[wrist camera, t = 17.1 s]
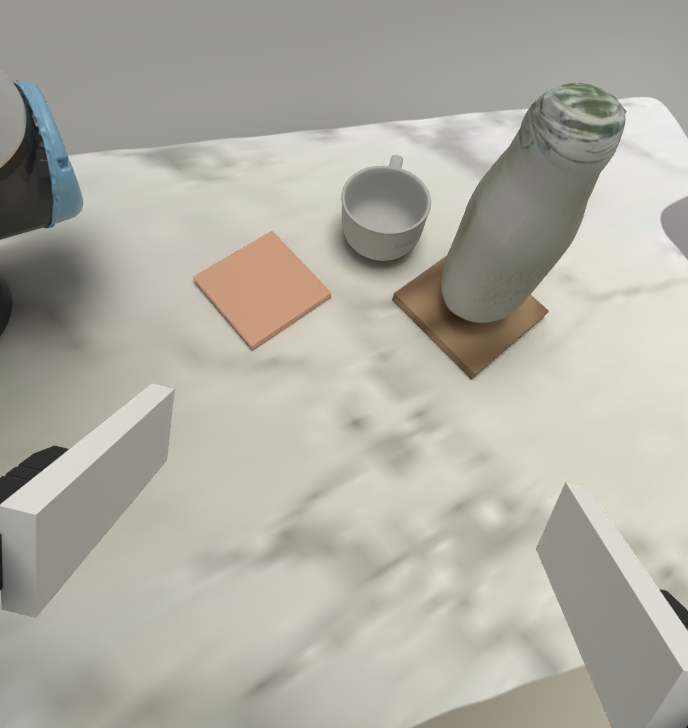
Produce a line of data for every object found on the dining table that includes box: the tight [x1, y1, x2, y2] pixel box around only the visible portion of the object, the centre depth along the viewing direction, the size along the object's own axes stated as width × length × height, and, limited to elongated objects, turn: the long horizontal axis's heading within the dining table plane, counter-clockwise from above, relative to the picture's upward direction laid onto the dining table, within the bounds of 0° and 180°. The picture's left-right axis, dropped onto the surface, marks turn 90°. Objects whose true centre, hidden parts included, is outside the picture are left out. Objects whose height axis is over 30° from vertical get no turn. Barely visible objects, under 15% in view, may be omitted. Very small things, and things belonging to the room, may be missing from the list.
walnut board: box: [392, 256, 549, 379], centre depth 61 cm, size 14×14×2 cm
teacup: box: [342, 155, 431, 261], centre depth 62 cm, size 14×11×8 cm
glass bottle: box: [441, 83, 626, 323], centre depth 48 cm, size 10×10×28 cm
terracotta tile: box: [193, 231, 331, 350], centre depth 60 cm, size 12×12×1 cm
